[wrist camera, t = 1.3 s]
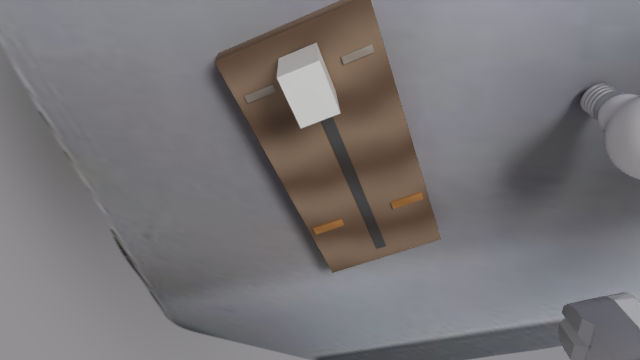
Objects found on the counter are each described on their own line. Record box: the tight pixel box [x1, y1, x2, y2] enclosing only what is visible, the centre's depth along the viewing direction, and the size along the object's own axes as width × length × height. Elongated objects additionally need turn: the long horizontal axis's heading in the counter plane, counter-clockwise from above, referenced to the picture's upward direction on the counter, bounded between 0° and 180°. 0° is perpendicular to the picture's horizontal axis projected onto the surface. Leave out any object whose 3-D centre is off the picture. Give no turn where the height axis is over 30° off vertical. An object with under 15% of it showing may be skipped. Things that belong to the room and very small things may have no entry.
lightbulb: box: [580, 83, 640, 180], centre depth 30 cm, size 6×6×11 cm
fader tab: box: [277, 43, 341, 128], centre depth 28 cm, size 4×3×4 cm
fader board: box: [215, 0, 441, 273], centre depth 35 cm, size 25×12×2 cm, turn 21°
